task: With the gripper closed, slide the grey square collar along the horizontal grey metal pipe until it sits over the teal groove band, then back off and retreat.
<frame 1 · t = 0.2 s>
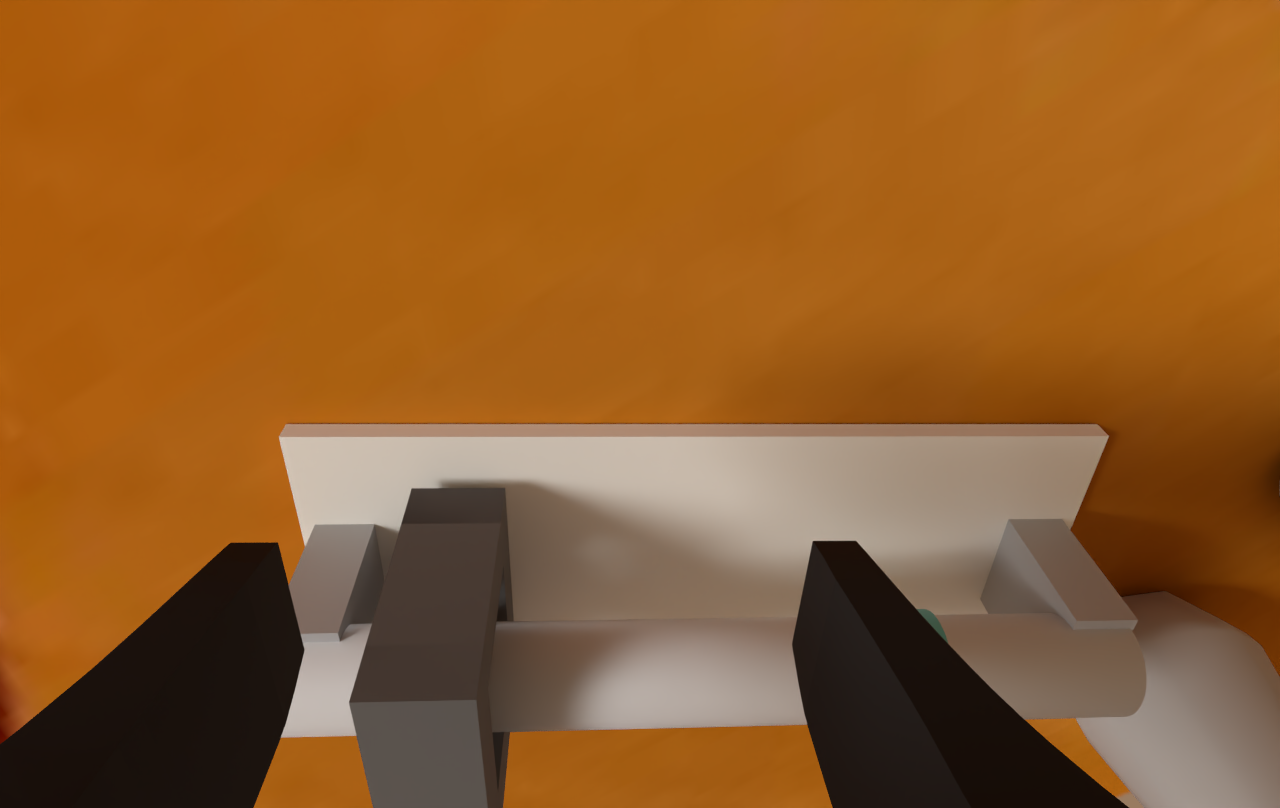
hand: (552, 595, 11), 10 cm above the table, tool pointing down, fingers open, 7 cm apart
grey square collar: (451, 676, 20), point 4 cm above the table, slide at 0.0 cm
pipe rail: (693, 549, 24), on the table
salt shaker: (1124, 629, 28), on the table
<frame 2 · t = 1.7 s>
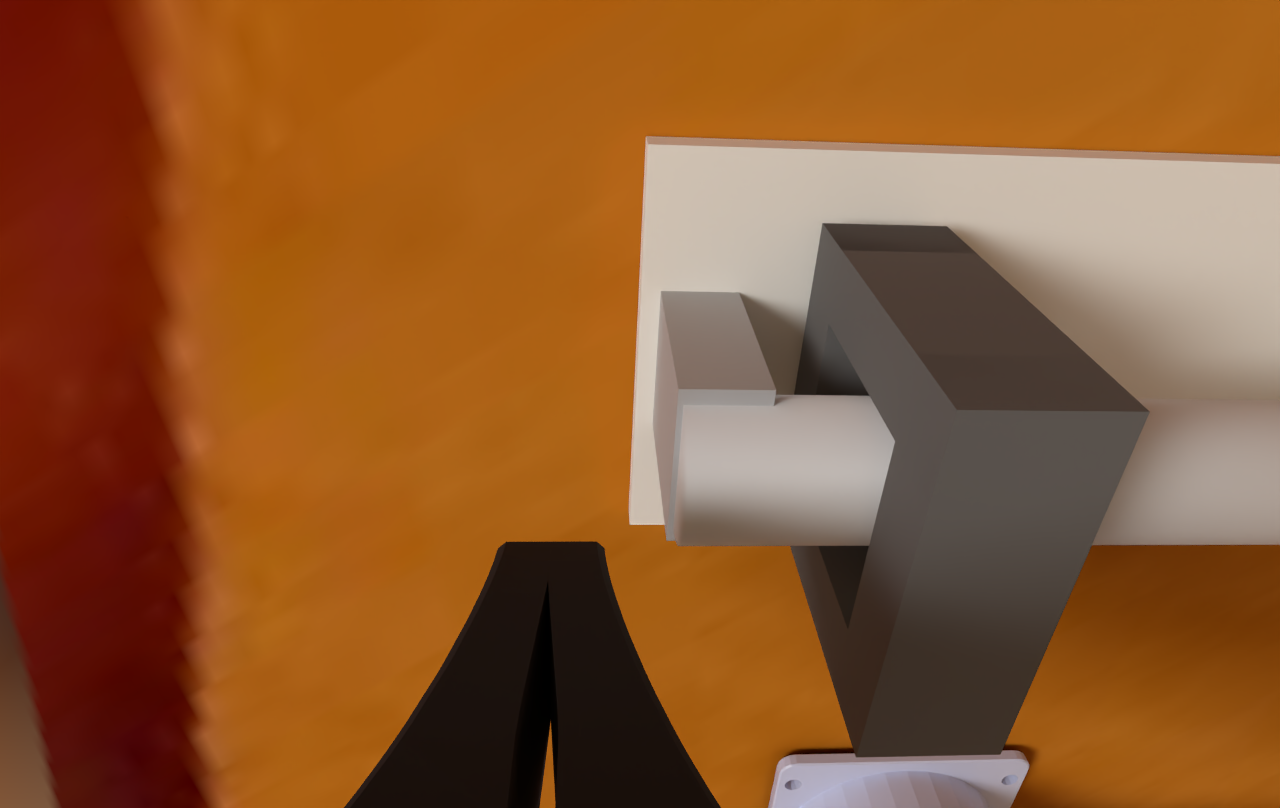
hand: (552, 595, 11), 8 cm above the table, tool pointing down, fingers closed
grey square collar: (905, 470, 14), point 4 cm above the table, slide at 0.0 cm
pipe rail: (1119, 354, 19), on the table
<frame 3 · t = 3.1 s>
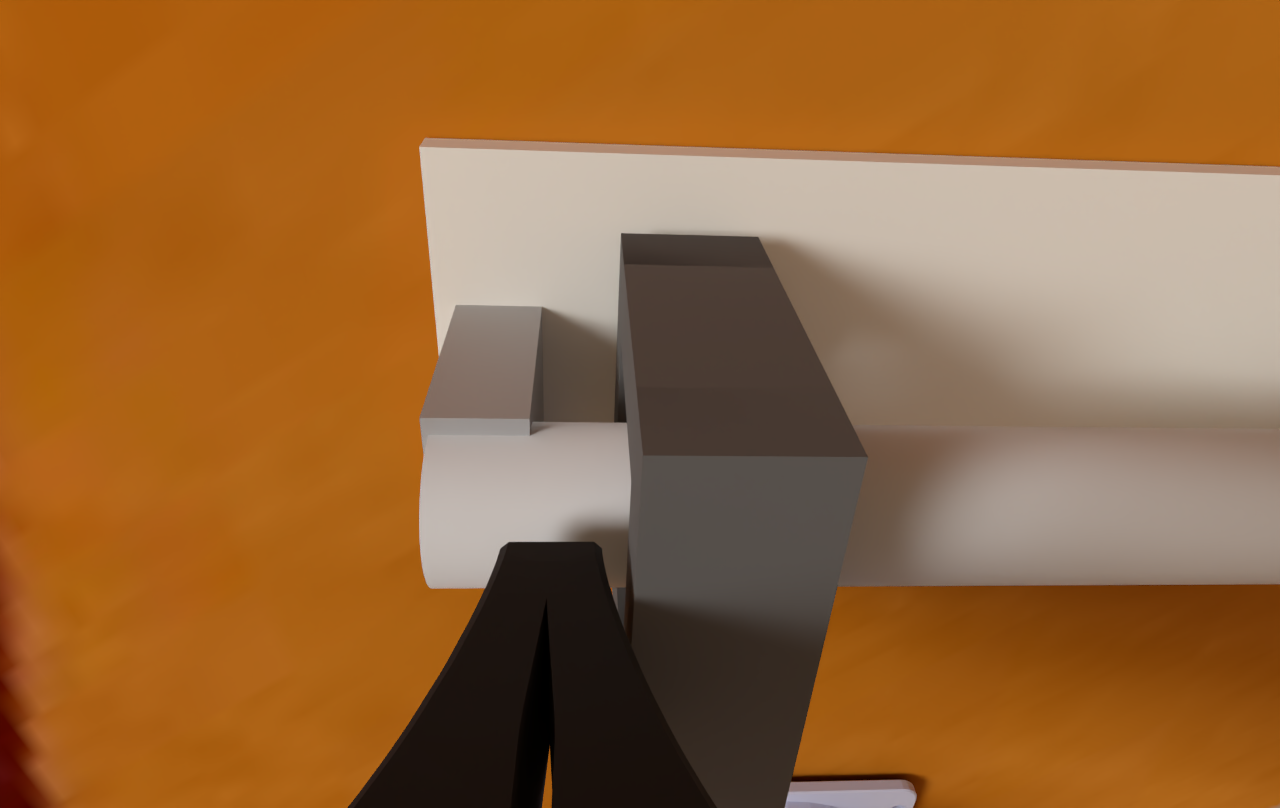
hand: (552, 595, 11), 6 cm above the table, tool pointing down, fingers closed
grey square collar: (695, 504, 13), point 5 cm above the table, slide at 0.1 cm, touching gripper
pipe rail: (969, 371, 17), on the table
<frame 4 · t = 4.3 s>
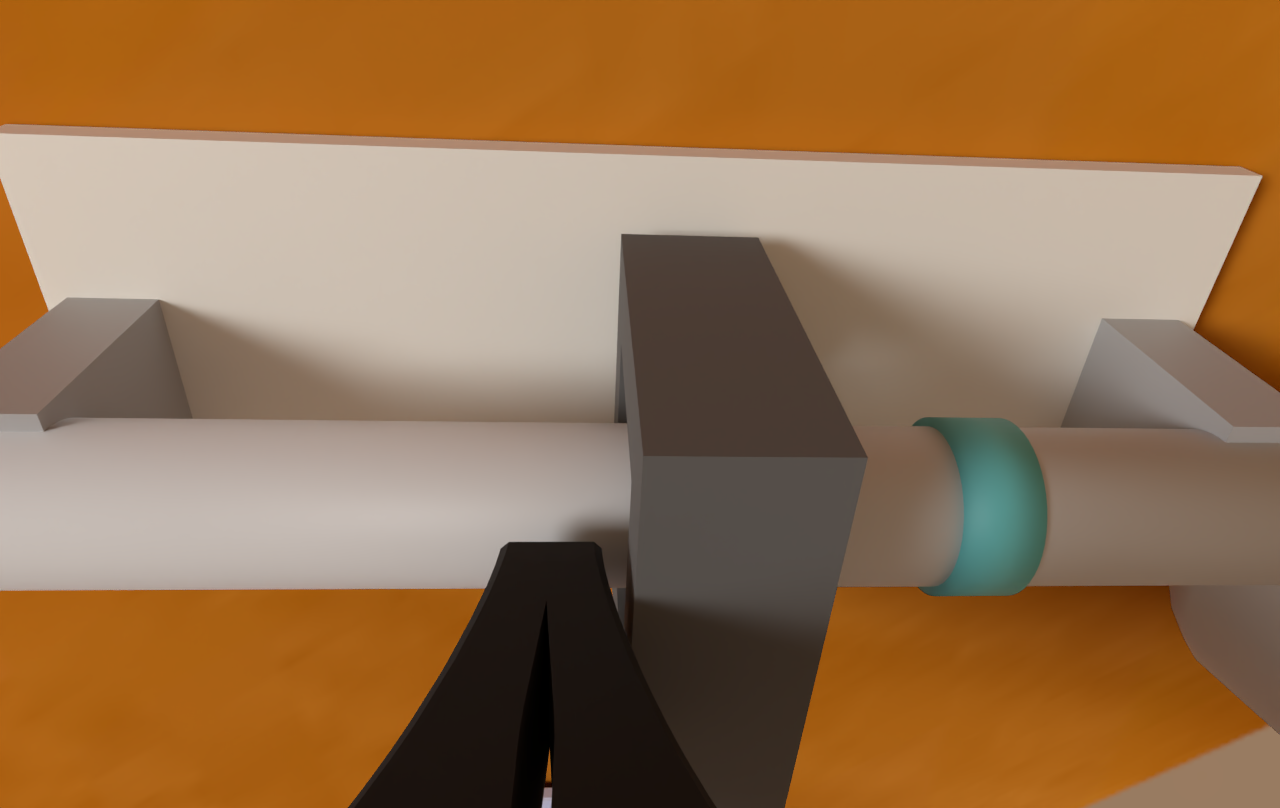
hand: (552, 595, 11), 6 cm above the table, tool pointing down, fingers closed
grey square collar: (695, 504, 13), point 5 cm above the table, slide at 7.1 cm, touching gripper
pipe rail: (643, 367, 17), on the table
salt shaker: (1238, 512, 20), on the table
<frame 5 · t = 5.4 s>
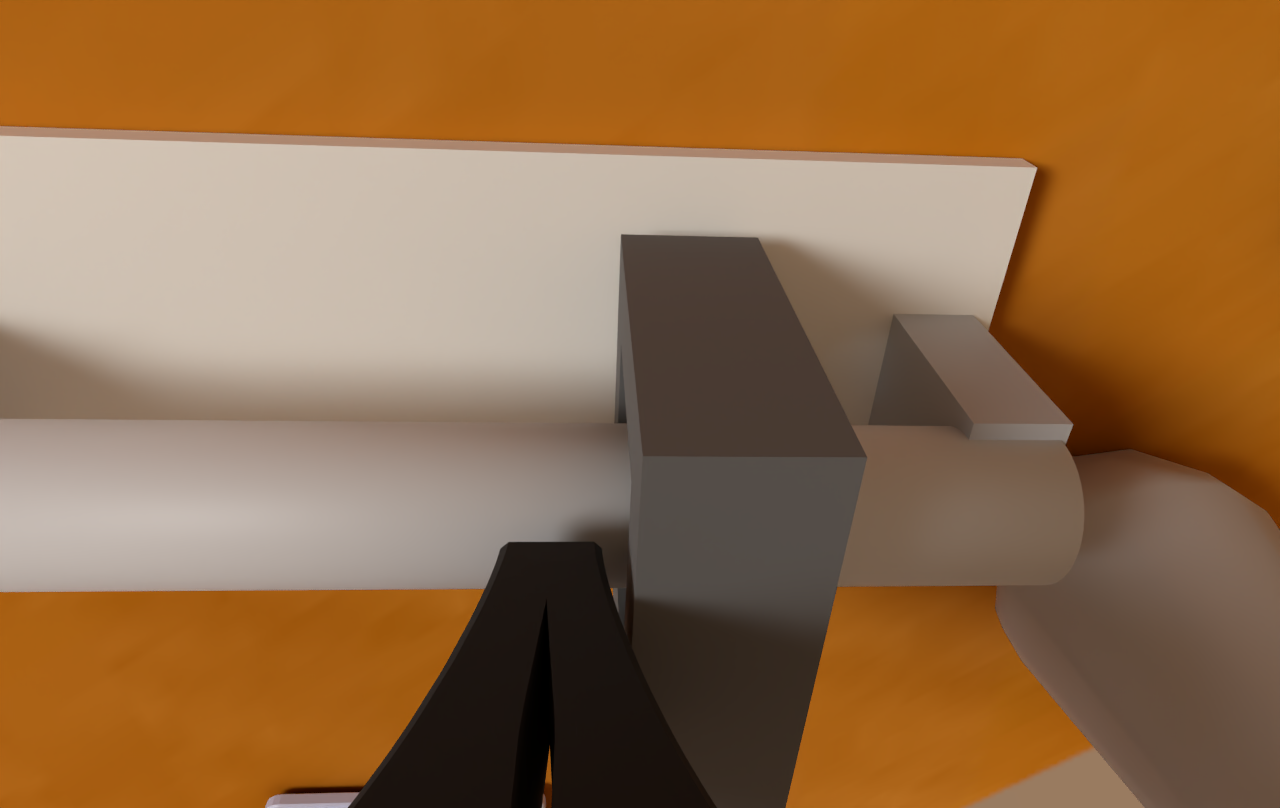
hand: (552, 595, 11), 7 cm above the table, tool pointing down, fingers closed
grey square collar: (695, 504, 13), point 4 cm above the table, slide at 11.3 cm, touching gripper
pipe rail: (436, 364, 17), on the table
salt shaker: (1075, 511, 20), on the table
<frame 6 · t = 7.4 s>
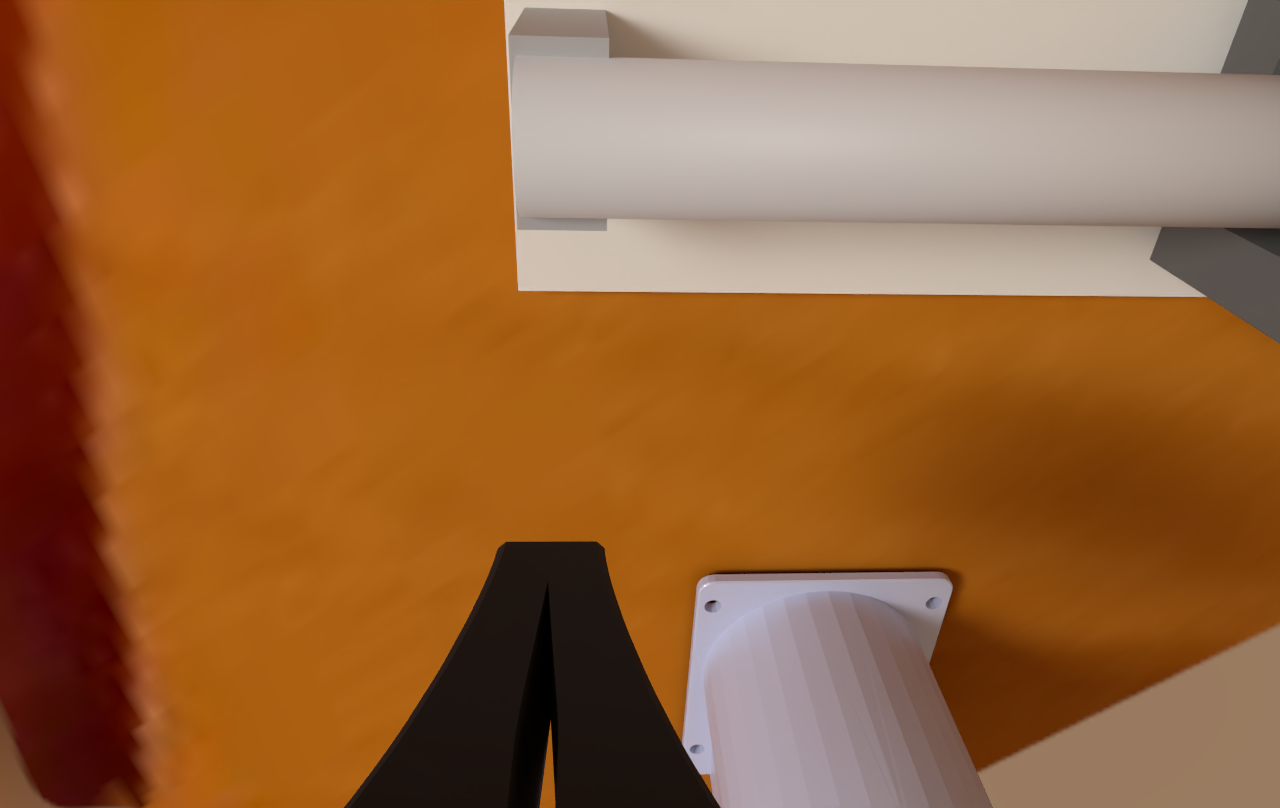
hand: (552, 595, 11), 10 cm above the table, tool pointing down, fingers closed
pipe rail: (1007, 98, 18), on the table
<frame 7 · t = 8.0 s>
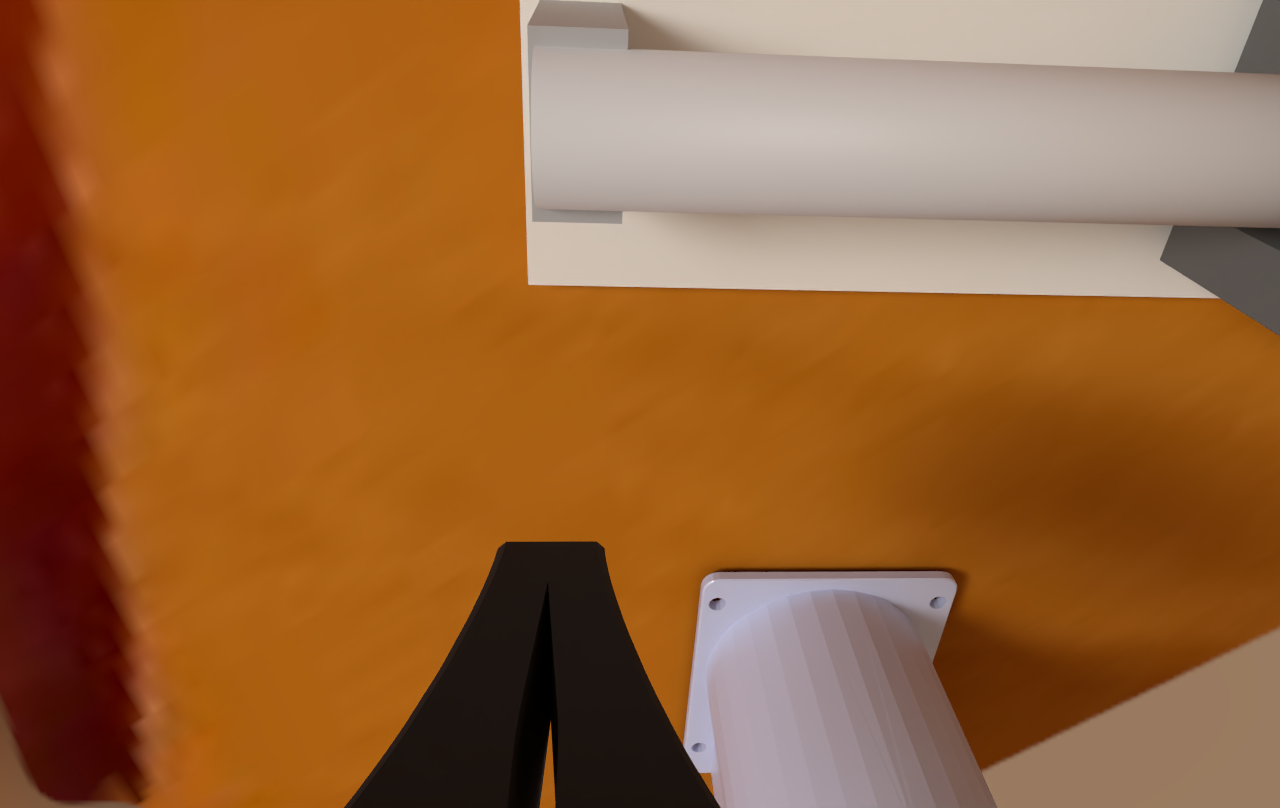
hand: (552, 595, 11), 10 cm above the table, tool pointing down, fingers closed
pipe rail: (1020, 96, 18), on the table
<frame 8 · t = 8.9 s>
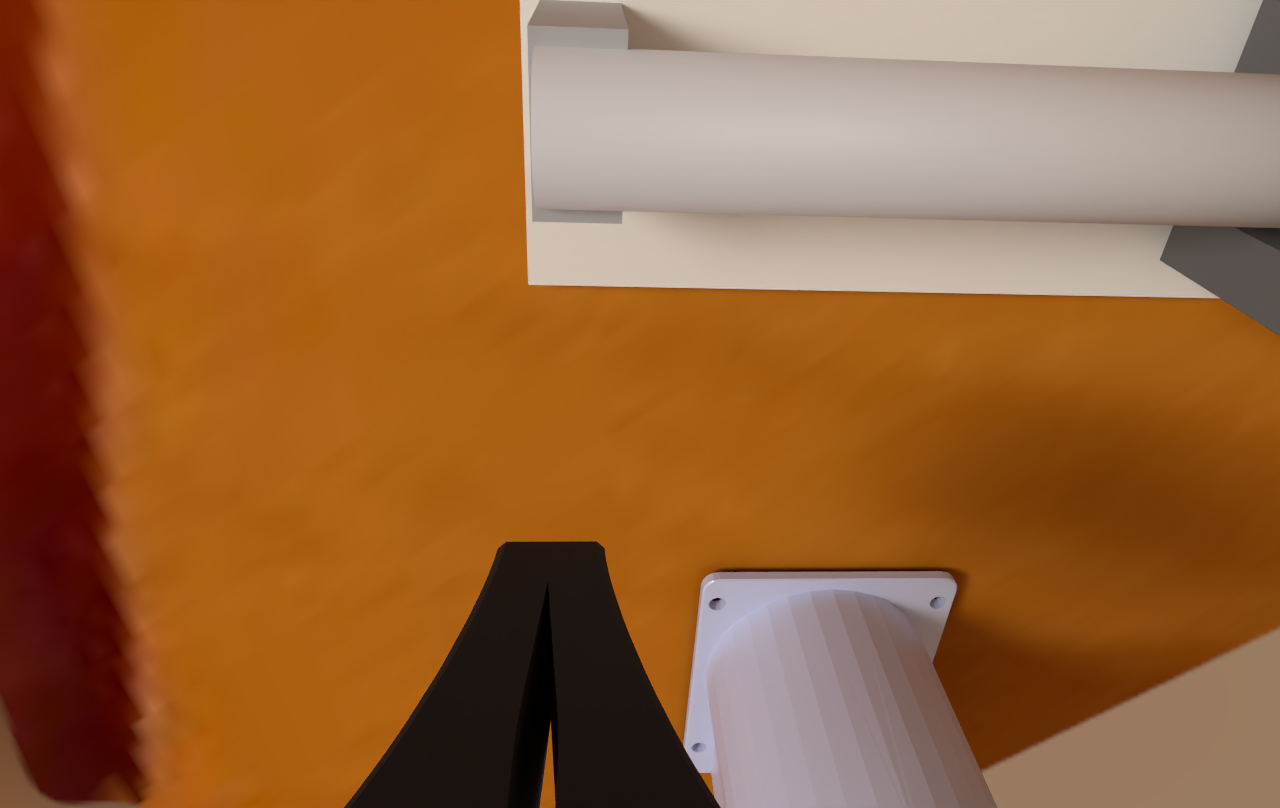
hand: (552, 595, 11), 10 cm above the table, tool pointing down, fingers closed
pipe rail: (1020, 96, 18), on the table
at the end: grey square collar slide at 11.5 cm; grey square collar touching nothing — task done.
